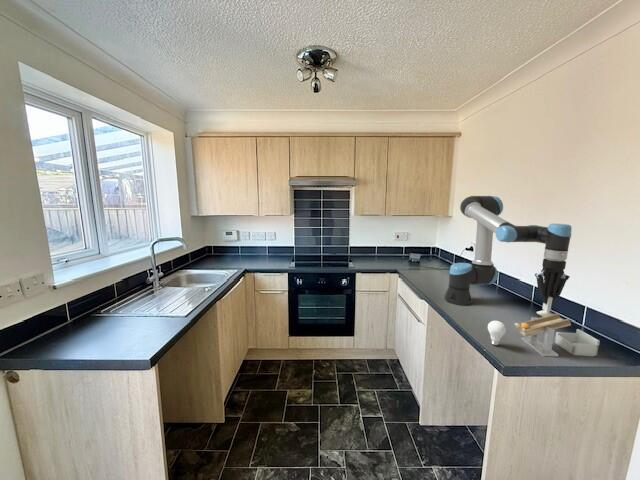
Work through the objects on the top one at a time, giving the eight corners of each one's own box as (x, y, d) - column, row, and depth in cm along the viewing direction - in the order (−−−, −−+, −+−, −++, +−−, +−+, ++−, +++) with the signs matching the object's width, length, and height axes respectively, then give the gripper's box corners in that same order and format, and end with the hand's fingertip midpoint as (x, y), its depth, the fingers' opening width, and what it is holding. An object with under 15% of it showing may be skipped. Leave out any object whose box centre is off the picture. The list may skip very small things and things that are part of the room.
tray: (554, 342, 117) (556, 327, 116) (575, 343, 117) (578, 329, 115) (572, 355, 108) (575, 339, 107) (596, 356, 107) (599, 340, 106)
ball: (519, 329, 114) (517, 322, 114) (527, 326, 114) (525, 320, 114) (524, 333, 111) (522, 326, 111) (532, 330, 111) (530, 324, 110)
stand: (521, 338, 120) (524, 315, 118) (535, 339, 120) (538, 316, 118) (542, 355, 107) (546, 329, 105) (558, 356, 107) (562, 330, 105)
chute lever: (506, 323, 123) (504, 315, 123) (546, 312, 121) (544, 304, 121) (526, 339, 110) (524, 330, 109) (571, 327, 108) (569, 318, 107)
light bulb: (485, 345, 114) (488, 322, 112) (485, 339, 120) (488, 316, 118) (503, 350, 111) (507, 326, 109) (503, 343, 116) (506, 320, 114)
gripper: (545, 260, 111) (537, 313, 115) (578, 261, 110) (568, 314, 114) (532, 256, 118) (525, 306, 122) (563, 257, 117) (555, 307, 121)
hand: (546, 310), depth 118 cm, fingers closed
